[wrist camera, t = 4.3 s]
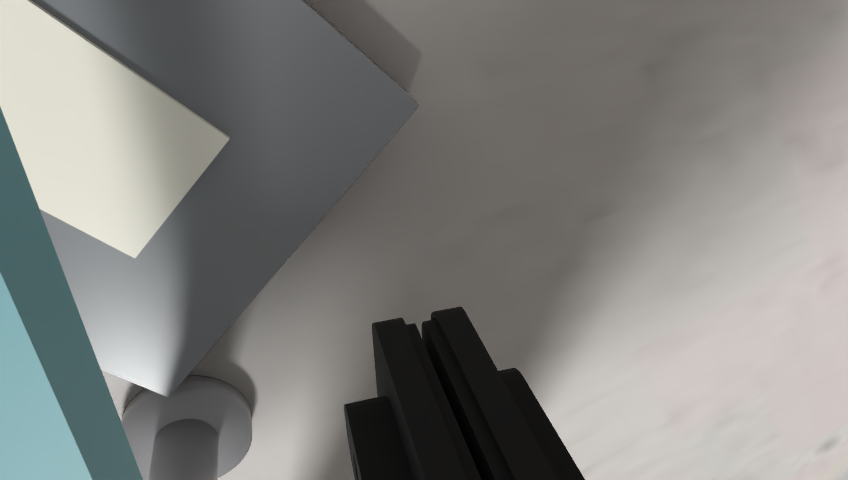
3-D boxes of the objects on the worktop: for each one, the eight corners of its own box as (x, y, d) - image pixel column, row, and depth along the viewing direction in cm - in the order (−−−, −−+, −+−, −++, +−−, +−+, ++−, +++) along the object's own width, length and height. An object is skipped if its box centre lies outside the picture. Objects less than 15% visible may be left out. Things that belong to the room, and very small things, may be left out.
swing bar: (236, 664, 18) (236, 787, 16) (122, 698, 17) (103, 832, 15) (-112, -339, 7) (-308, -483, 4) (-463, -358, 6) (-935, -542, 4)
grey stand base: (492, 167, 23) (619, 292, 15) (206, 481, 26) (194, 709, 19) (-137, -390, 12) (-699, -851, 5) (-470, 249, 16) (-1098, 548, 8)
